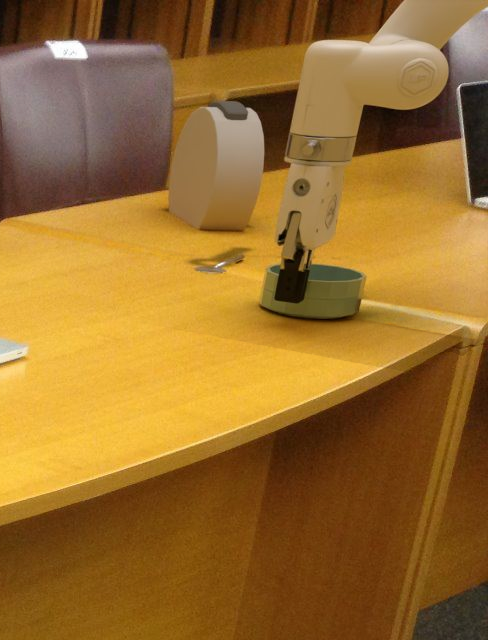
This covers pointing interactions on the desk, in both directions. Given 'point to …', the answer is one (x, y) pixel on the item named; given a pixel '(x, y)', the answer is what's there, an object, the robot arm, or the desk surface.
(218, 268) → the spoon
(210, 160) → the alarm clock
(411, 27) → the robot arm
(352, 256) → the desk surface
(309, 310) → the bowl
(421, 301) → the desk surface
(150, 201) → the desk surface
